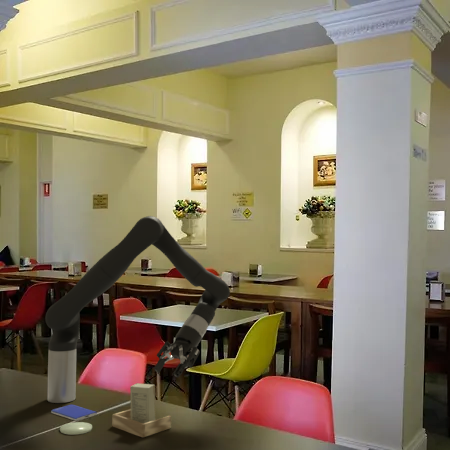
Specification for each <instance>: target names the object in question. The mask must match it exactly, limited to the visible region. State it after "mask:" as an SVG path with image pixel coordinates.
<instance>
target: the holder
mask: <svg viewBox="0 0 450 450" xmlns="http://www.w3.org/2000/svg"><path fill="white" fill-rule="evenodd" d="M111 421H112V423H111V425H112V427H113V428H116V429H117V430H118V429H119V430H122V431H124V432H127V433H129V434H131V435H135V436H137V437H141V438H145V437H149V436H152V435H155V434H157V433H160V432H163V431H165V430H169V429H171V427H172V416H171V415H165V416H163V417H160V418H159V417H158V418H155V420H153V421H150V422H147V423H140V422H137V421H134V420H131V408H129V409H126V410H123V411H119V412H116V413H113V414H112V419H111Z"/></svg>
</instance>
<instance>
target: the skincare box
mask: <svg viewBox="0 0 450 450" xmlns="http://www.w3.org/2000/svg"><path fill="white" fill-rule="evenodd" d="M130 409H131V420H134V421H137V422H140V423H147V422H150V421H153V420H156V385H155V384H153V383H152V384H151V383H138V382H137V383H135V384H133V385H131V386H130Z"/></svg>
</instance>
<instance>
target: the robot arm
mask: <svg viewBox="0 0 450 450" xmlns="http://www.w3.org/2000/svg"><path fill="white" fill-rule="evenodd" d="M151 245H152V246H153V247H155V248H156V249H158V250H159V252H161V253H163V255H164V256H165V257H166V258H167V259H168V260H169V262H170V263H171V264H172V265H173V266H174V267H175V269H176V270H177V271H178V273H179V274H181V276H182V277H184V278H185V279H186V280H187V281H188V282H189V283H190V285H192V286H193V287H195V288H197V287H201V288H202V289H203V290H204V291H203V292H202V294H201V295H200V298H199V300H198V303H197V305H196V306H195V307H194V308H193V310H192V312H191V313H190V314H189V316H188V317H187V318H186V319H185V321H184V323H183V324H182V326H180V329H179V330H178V332H177V333H176V335H175V340H174V342H173V343H170V342H169V341H168V340H167V341H165V343H164V344H163V345H162V346H161V348H160V349H159V351H158V352H157V354H156V356H157V359H158V361H157V362H156V364H155V365H154V371H155V372H156V373H160V372H161V371H162V369H163V368H164V366H165V364H166V363H167V362H169V361H172V360H174V359H175V360H177V359H178V360H180V363H178V365H177V366H176V368H175V369H174V371H173V373H172V374H173V376H174V377H175V378H180V376H181V375H182V374H183V373H184V371H185V369H187V368H188V367H189V368H192V367H193V366H194V364H195V362H196V361H197V359H198V357H199V355H200V350H199V349H198V346H199V343H200V342H201V341H202V339H203V337H204V336H205V334H206V332H207V330H208V328H209V326H210V325H211V323H212V321H213V319H214V318H215V316H216V315H215V314H216V310H217V309H218V308H219V306H220V305H221V304H222V303H224V302H225V301H227V299H228V298H229V297H230V295H231V290H230V287H229V285H228V284H227V283H226V281H224V280H223V279H222V278H221V277H219V276H218V275H215V274H214V273H213V272H210V271H209V270H207V269H206V268H205V267H204V266H203V265H202V264H201V263H200V262H199V261H198V259H196V258H195V257H194V256H193V255H191V253H189V251H187V250H186V249H185V248H184V247H183V246H181V245H180V243H179V242H178V241H177V240H176V239H175V238H174V237H173V235H172V234H171V233H170V232H169V231H168V229H167V228H166V227H165V225H164V223H162V220H160V218H158V217H157V216H153V215H148V216H144V217H142V218H140V219H139V220H137V222H136V223H135V224H134V225H133V226H132V228H131V229H130V230H129V232H128V233H127V234H126V236H124V238H123V239H122V240H121V241H120V242H119V243H118V244H117V245H115V246H114V247H113V248H111V249H110V250H109V251H107V253H106V254H105V255H103V256H102V257H101V258H100V259H98V260H97V261H96V263H94V264H93V266H91V268H90V269H88V271H87V272H86V273H85V274H84V275H83V276H82V277H81V278H80V279H79V281H77V282H76V284H75V285H74V286H73V287H72V288H71V289H70V290H69V291H68V292H67V293H66V294H65V295H63V296H62V297H61V298H60V299H58V301H56V302H54V303H53V304H52V305H50V307H48V309H47V312H46V314H45V323H46V325H47V327H48V328H49V329H51V330H52V331H53V332H52V336H51V338H50V339H49V342H48V358H47V359H48V360H47V361H48V362H47V364H48V365H47V401H48V402H49V403H51V404H52V403H53V404H54V403H55V404H64V403H69V402H73V401H75V399H76V395H77V394H76V390H77V389H76V388H77V387H76V384H77V345H78V341H79V338H80V337H79V335H80V325H81V324H80V322H81V321H80V320H81V319H80V318H81V317H80V315H81V314H80V312H81V311H82V310H83V309H84V308H85V307H86V306H87V305H88V304H90V303H91V302H93V301H94V300H95V299H97V298H98V297H100V296H101V295H103V293H105V292H106V291H107V290H109V289H110V288H111V287H113V285H114V284H115V283H116V282H117V281H119V279H120V278H121V277H122V276H123V275H124V274H125V272H126V271H127V270H128V268H130V266H131V265H132V263H133V262H134V261H135V259H136V258H137V257H138V256H139V255H141V254H142V253H144V251H145V250H147V249H148V248H149V247H151Z"/></svg>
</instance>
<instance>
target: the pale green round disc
mask: <svg viewBox="0 0 450 450" xmlns="http://www.w3.org/2000/svg"><path fill="white" fill-rule="evenodd" d="M92 430H93V424H91V423H89V422H83V421H80V422H79V421H74V422H70V423H65V424H63V425H61V426H60V428H59V431H60V433H62V434H64V435H69V436H76V435H83V434H88V433H90V432H91V431H92Z"/></svg>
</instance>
